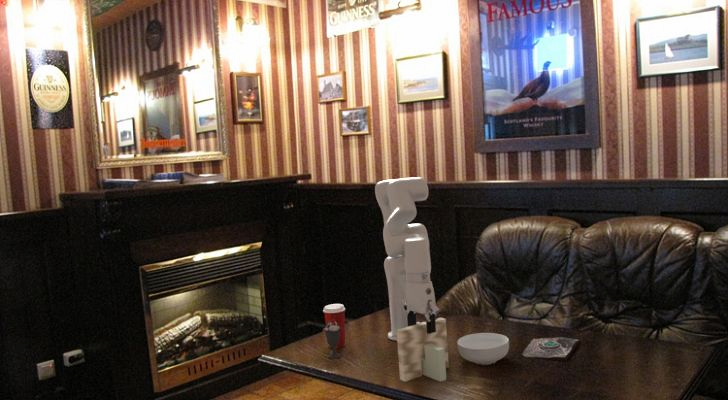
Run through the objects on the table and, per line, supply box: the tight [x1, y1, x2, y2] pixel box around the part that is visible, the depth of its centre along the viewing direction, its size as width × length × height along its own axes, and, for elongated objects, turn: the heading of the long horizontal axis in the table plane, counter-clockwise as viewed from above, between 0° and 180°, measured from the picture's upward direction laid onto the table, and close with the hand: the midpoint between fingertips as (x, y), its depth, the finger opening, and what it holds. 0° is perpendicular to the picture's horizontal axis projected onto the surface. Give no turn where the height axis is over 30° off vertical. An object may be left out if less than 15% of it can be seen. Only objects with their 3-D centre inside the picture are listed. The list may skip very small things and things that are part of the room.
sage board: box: [421, 344, 447, 382], centre depth 209 cm, size 2×18×10 cm, turn 34°
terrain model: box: [521, 336, 581, 362], centre depth 223 cm, size 20×15×3 cm
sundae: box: [322, 316, 342, 360], centre depth 232 cm, size 7×7×15 cm
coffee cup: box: [322, 303, 346, 349], centre depth 244 cm, size 8×8×15 cm
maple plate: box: [396, 317, 450, 382], centre depth 209 cm, size 18×2×16 cm, turn 124°
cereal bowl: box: [456, 332, 510, 366], centre depth 216 cm, size 17×17×7 cm
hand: (421, 329), depth 209 cm, fingers open, 9 cm apart
